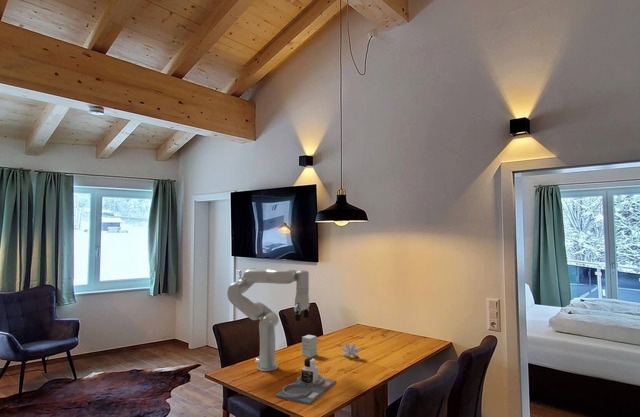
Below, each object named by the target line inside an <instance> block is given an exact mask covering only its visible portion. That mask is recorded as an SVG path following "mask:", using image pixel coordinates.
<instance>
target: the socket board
mask: <svg viewBox="0 0 640 417" xmlns="http://www.w3.org/2000/svg"><path fill="white" fill-rule="evenodd" d="M299 381H300V382H301V379H300V380H299ZM320 381H321V379H319V378H318V381H316V382H315V383H317V382H320ZM293 383H297V379H296V380H294V381H293V382H291V383H290V384H293ZM336 383H337V380H336V379H331V378H326V377H323V383H322V384H321V385H319V386H315V387H310V394H309V395H307V396H305V397H302V398H290V397H286V396H285V395H283V389H281V390H280V391H278V392H277V393H276V394H274V396H275V398H280V399H283V400H288V401H293V402H297V403H301V404H304V405H305V404H306V405H312V404H313V403H314V402H315V401H316V400H318V398H319V397H321V396H322V395H323V394H324V393H325V392H327V391H328V390H329V389H330V388H331V387H332V386H334V385H335V384H336ZM284 391H285V392H286V393H289V394H303V393H306V392H307V391H309V390H308V389H307V388H304V387H291V388H287V389H286V390H284Z"/></svg>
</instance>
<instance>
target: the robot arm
mask: <svg viewBox="0 0 640 417" xmlns="http://www.w3.org/2000/svg"><path fill="white" fill-rule="evenodd" d="M309 276H310V272H309V271H308V270H297V269H296V270H295V269H289V270H283V271H277V270H272V269H269V268H265V269H264V268H261V269H258V268H255V267H253V268H248V269H247V270H245V271H244V273H243V275H242V277H241V278H240V279H239V280H237V281H234V282H232V283H231V284H229V286H228V288H227V292H226V294H227V299H228V301H229V302H230V303H231V305H233V306H234V307H235V308H236V309H238V310H239V311H240V312H242V314H244V315H245V316H246V317H247V318H248V319H250V320H252V321H256V320H259V322H258V332H259V358H255V361H254V363H255V364H257V366H256V369H257V370H259V371H260V372H272V371H275V370H277V369H278V367H279V365H278V363H276V330H275V328H276V326H278V324H279V317H278V315H277V314H276V312H274V311H273V310H272V309H271V308H269V307H268V306H267V305H265V304H264V303H262V302H260V301H258V302H257V301H256V302H253V301H252V300H250V299H249V298H248V297H247V296H245V295H243V294H244V293H245V292H247V291H248V290H249V289H250V288H251V287H252V286H254V284H257V283H258V284H275V285H276V284H279V285H280V284H281V285H288V284H292V283H293V282H295V283H296V284H295V285H296V287H295V288H296V292H295V298H294V307H293V311H294V314H295V319H294V320H295V321H297V322H300V321H301V312H302V311H303V318H305V319H308V318H310V317H309V315H310V308H311V303H310V298H309V297H310V296H309V291H310V290H309V289H310V288H309V286H310V285H309V283H310V282H309V280H310V278H309Z"/></svg>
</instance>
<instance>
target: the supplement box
mask: <svg viewBox="0 0 640 417" xmlns="http://www.w3.org/2000/svg"><path fill="white" fill-rule="evenodd" d="M301 338H302V339H301V355H302V357H306V358H313V357H315V356H317V355H318V345H317V344H318V340H317V338H318V337H317V336H316V335H312V334H306V335H304V336H301Z"/></svg>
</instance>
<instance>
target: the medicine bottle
mask: <svg viewBox="0 0 640 417" xmlns="http://www.w3.org/2000/svg"><path fill="white" fill-rule="evenodd" d="M303 363H304V365H303V366H304V367H303V368H301V374H300V376H301V382H302V383H307V384H310V383H315V382H316V381H318V375H319V367H318V366H316V359H315V358H313V357H311V358H309V357H306V358H305V359H304V361H303Z"/></svg>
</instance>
